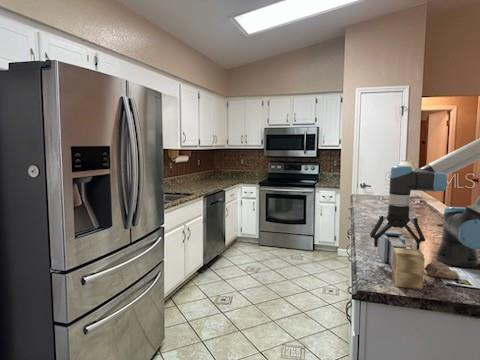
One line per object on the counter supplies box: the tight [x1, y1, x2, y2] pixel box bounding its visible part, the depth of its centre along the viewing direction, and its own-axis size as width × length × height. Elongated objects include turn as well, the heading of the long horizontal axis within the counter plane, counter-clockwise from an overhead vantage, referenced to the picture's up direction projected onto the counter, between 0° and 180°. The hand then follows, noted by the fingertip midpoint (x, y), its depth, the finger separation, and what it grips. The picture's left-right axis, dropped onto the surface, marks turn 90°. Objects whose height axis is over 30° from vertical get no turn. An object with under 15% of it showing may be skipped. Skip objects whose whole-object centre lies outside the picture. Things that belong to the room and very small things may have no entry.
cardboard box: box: [391, 248, 425, 290], centre depth 117 cm, size 8×7×12 cm
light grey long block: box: [386, 235, 407, 268], centre depth 138 cm, size 5×18×9 cm, turn 167°
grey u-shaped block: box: [379, 230, 406, 263], centre depth 142 cm, size 8×11×11 cm
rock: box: [424, 260, 460, 280], centre depth 125 cm, size 9×6×10 cm
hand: (395, 256), depth 134 cm, fingers open, 13 cm apart
